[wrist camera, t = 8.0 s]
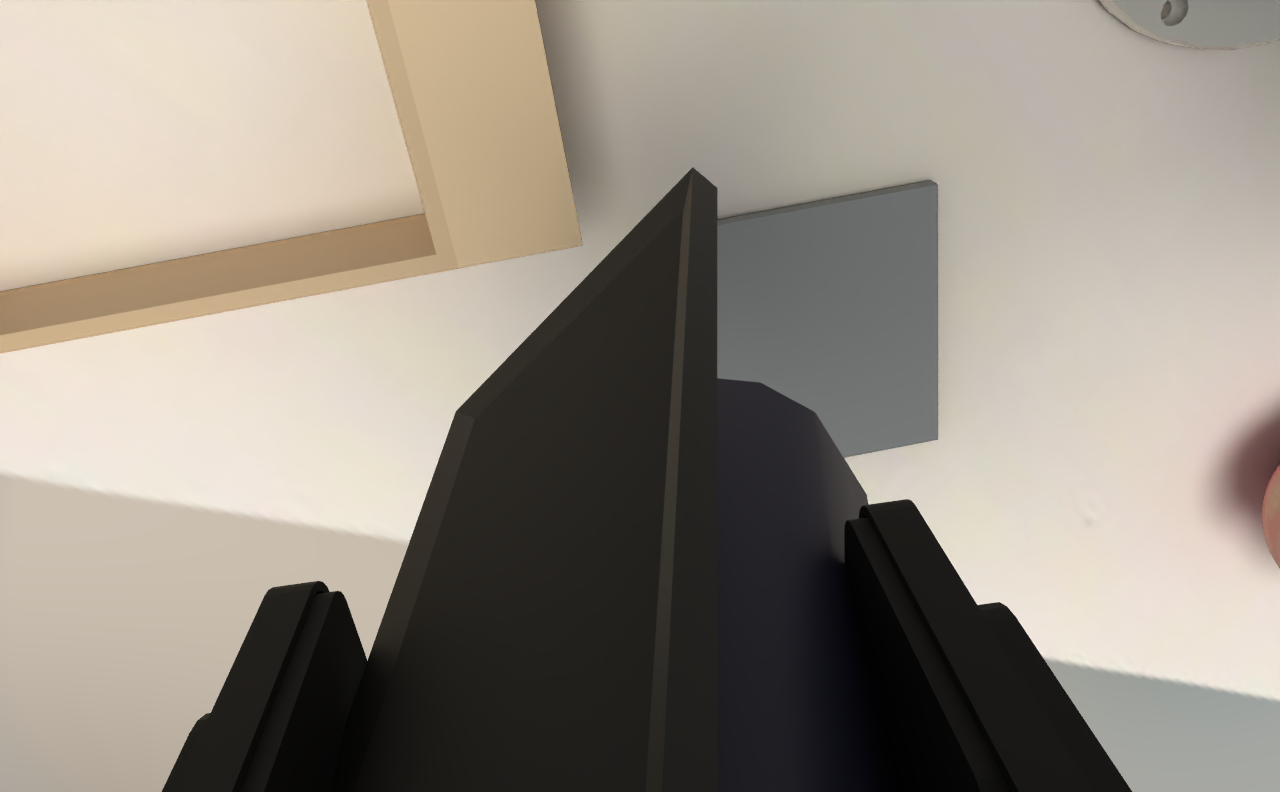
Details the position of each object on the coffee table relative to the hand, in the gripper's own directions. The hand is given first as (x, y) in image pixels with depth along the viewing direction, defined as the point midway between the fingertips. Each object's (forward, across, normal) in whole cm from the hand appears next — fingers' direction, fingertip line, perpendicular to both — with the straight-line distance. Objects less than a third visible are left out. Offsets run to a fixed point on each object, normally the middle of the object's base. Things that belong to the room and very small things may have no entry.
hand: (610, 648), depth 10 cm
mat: (+21, -7, +6) cm, 23 cm away
